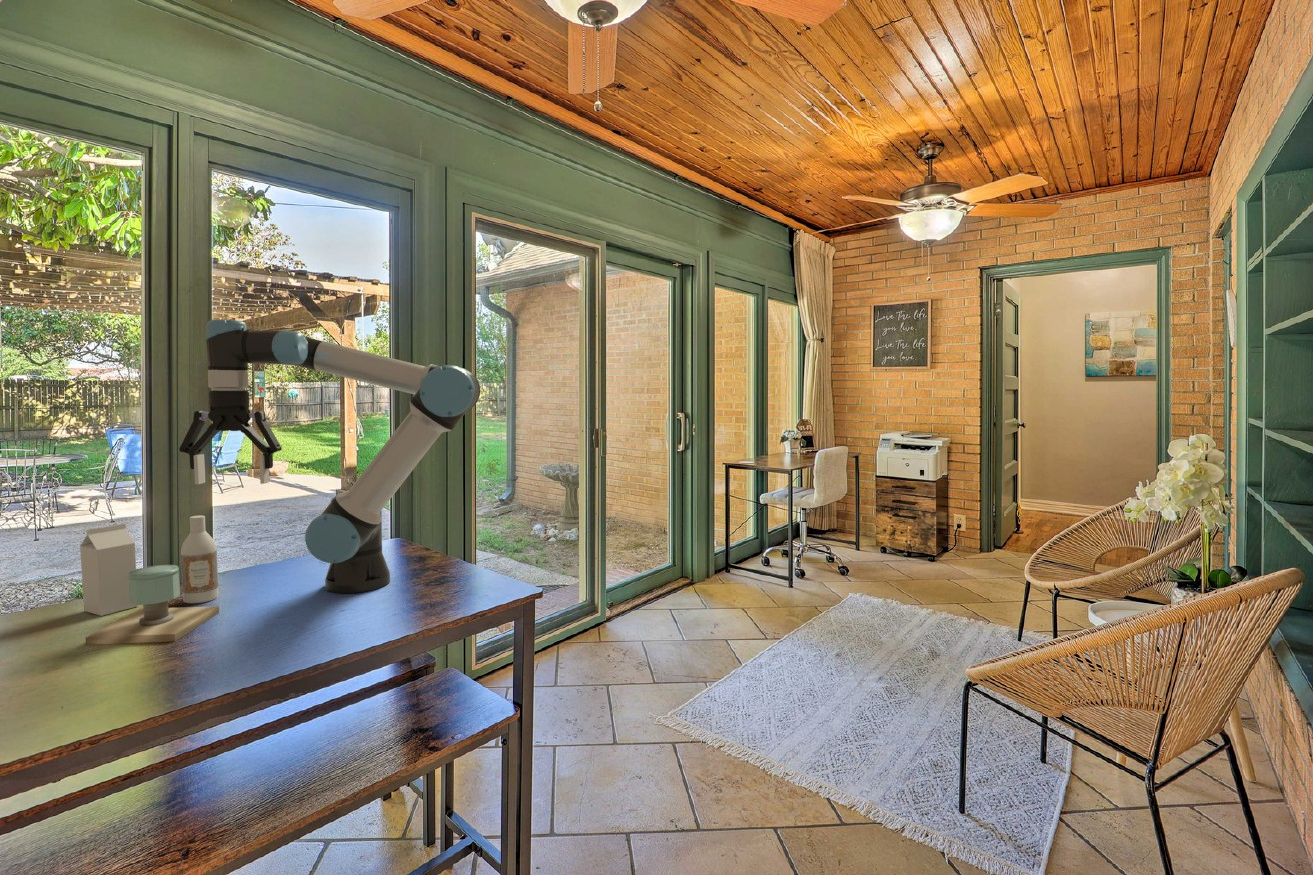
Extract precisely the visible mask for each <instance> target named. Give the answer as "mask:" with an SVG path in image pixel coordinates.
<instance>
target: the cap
mask: <svg viewBox="0 0 1313 875" xmlns="http://www.w3.org/2000/svg"><path fill="white" fill-rule="evenodd" d="M179 568H180V567H179V565H176V564H157V565H150V566H144V567H141V568H136V570H133V571H131V572H129V574H128V575H129V593H130V603H133V604H136V605H138V606H143V605H146V604H157V603H161V602H165V601H172V600H174V599H176V598H177V597H179V596H180V595H181V589H180V587H181V586H180V569H179Z"/></svg>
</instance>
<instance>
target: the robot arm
mask: <svg viewBox="0 0 1313 875" xmlns="http://www.w3.org/2000/svg"><path fill="white" fill-rule="evenodd" d="M205 331H206V332H205V333H206V337H205V343H206V355H207V356H206V359H207V382H208V384H207V387H208V388H209V389H211V390H209V392H208V403H209V404H208V405H209V411H205V410H196V411H194V412H193V418H192V419H193V420H192V422H191V424H190V427H189V429H188V430H187V432H186V434H185V437H184V438H183V441H182V442H181V445H180V447H179V448H178V450H179V452H180V453H185V454H187V455H188V456H189V467H190V470H194V471H193V472H194V484H195V485H202V484H206V465H205V453H202V451H203V450H204V449H205V447H207V445H208V444H210V443H211V441H212V439H214V437H216V435H217V434H218V433H219V432H227V431H229V432H239V431H240V432H241V433H242V434H244V435H245V436H246V438H248V439H249V440H250V442H252V444H254V445H255V447H256V448H257V449H258V450H259V451H260V452H261V454H260V455H259V478H260V479H259V480H260V484H261V485H265V484H267V483H270V469H273V466H274V461H273V460H274V458H273V457H274V453H277V452H280V451H282V449H283V448H282V445H281V443H280V442H279V440H278V439H277V437H276V435H275V434H274V432H273V430H272V428H271V426H270V424H269V423H268V420H267V418H266V413H265V411H263V410H259V411H254V412H251V410H250V391H248V390H246V389H248V388H249V364H260V365H261V364H266V365H283V366H294V367H295V366H296V367H300V368H303V369H307V370H311V371H316V372H322V373H325V374H330V375H334V376H338V377H343V378H345V379H350V380H354V381H359V382H362V383H366V384H370V385H375V386H378V387H384V388H387V389H389V390H394V391H398V392H403V393H407V394H411V395H413V397H412V398H411V399H410V400H409V407H410V412H408V414H407V415H406V417H405V418H404V419H403V420H402V421H401V423H400V424H399V426H397V428H396V429H395V430H394V432H393V433H391V434H392V435H391V436H390V437H389V438H388V440H386V442H385V443H384V444H383V446H382V447H381V449H380V450H379V451H378V452H377V454H376V455H375V456H374V457H373V458H372V460H371V461H370V463H369V464H368V466H366V467H365V469H364V470H363V472H361V474H360V476H359V477H358V478H357V480H356V481H355V482H354V483H353V485H352V486H351V487H350V488H349V489H348V491H345V492H341V493H337V494H336V495H335V497H332V498H331V500H330V502H329V504H328V506H326V508H325V509H324V510H323V512H322V513H321V514H320V515H318V516H316V517H314V519H313V520H311V522H310V523H309V524H308V526H307V528H306V529H305V533H304V541H305V545H306V548H307V550H308V551H309V553H310V554H311V555H312V556H313V557H314V558H316V560H319V561H321V562H323V563H327V564H329V567H328V569H327V572H326V576H325V579H324V583H325V585H324V586H325V590H326V591H328V592H331V593H336V594H354V593H355V594H357V593H362V592H363V593H364V592H370V591H373V590H377V589H380V588H383V587H386V586H387V585H388V584H389V583H390V582H391V572H390V569H389V566H388V563H387V562H386V558H385V556H384V554H383V529H382V527H383V526H382V523H383V522H382V511H383V509H384V508H385V506H386V505H387V504H388V503H389V502H390V500H391V499H392V498H393V496H394V495H395V494H396V492H397V491H398V490H399V489H400V487H401V486H402V485H403V483H404V482H405V481H406V479H407V478H408V477H409V476H410V475H411V473H412V472H413V471H414V469H415V468H416V466H418V464H419V463H420V461H421V460H422V459H423V458H424V456H425V455H426V454H427V452H428V451H429V450H430V448H431V447H432V446H433V445H434V443H435V442H436V441H437V439H438V438H439V437H440V436H441V434H443V433H446V432H452V431H453V430H454V429H455V427H456V426H457V424H458V423H460V420H461V419H462V418H463V417H464V416H465V414H466V413H468V411H470V410H471V409H473V408H474V407H475V406H476V404H477V403H478V401H479V398H480V396H481V386H480V385H481V384H480V382H479V381H478V378H477V376H475V375H474V374H473V372H471V371H470V370H468V369H466V368H463V367H460V366H457V365H453V364H444V365H437V364H428V366H424V365H420V364H417V363H413V362H409V361H404V360H402V359H401V360H400V359H395V358H392V357H387V356H385V355H381V354H380V355H379V354H377V353H371V352H369V351H364V350H360V349H356V348H351V347H348V346H345V345H340V344H335V343H332V342H328V341H323V340H320V339H316V338H312V337H310V336H306V335H304V334H303V333H302V332H300V331H297V330H296V331H294V330H293V331H292V330H284V329H283V330H256V329H255V330H254V329H248V328H247V324H246V323H245V321H241V320H235V319H210V320H209V321H207V322H206V330H205ZM208 419H209V420H210V421H211V423H210V425H209V426H208V427H207V429H206V430H205V431H204V433H203V434H202V435H201V436H200V437H199V435H200V433H201V431H202V429H203V427H204V425H205V422H206V421H208ZM251 419H252V420H253V422H255V424H256V426H257V428H258V430H259V431H260V433H261V434H262V436H263V438H262V436H261V435H260V434H259V433H258V432H257V431H256V430H255V429H254V427H253V426H252V425H251V424H250V423H249V422H250V420H251ZM198 437H199V439H198Z"/></svg>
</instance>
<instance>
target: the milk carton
mask: <svg viewBox="0 0 1313 875" xmlns="http://www.w3.org/2000/svg"><path fill="white" fill-rule="evenodd" d="M126 525H127V524H126V523H122V524H116V525H109V526H103V527H96V528H90V529H86V535H85V537H84V539H83V540H82V542H81V544H80V545H79V550H80V552H79V553H80V564H81V567H80V568H81V581H82V582H81V584H82V596H83V598H82V599H83V610H84V612H86V613H90V614H93V615H96V616H100V617H101V616H102V617H103V616H106V615H110V614H114V613H118V612H120V611H121V612H122V611H125V610H126V611H127V610H129V609H132V608H137V607H138V606H139V605H136V604H133V603H130V593H129V575H128V574H129V572H131V571H133V570H136V569H137V560H136V541H134V539H133V537H132V535H131V534H130V532H129V531H128V529H127V526H126Z"/></svg>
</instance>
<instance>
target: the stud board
mask: <svg viewBox="0 0 1313 875" xmlns="http://www.w3.org/2000/svg"><path fill="white" fill-rule="evenodd" d="M142 606H143V608H139V609H137V610H135V611H134V612H131V613H130V614H127V615H126V616H124V617H122V618H120V619H118V620H116V621H114V622H113V623H110V624H109V625H106V626H105V627H104V626H103V628H101V629H99V630H97V631H95V632H92V633H91V634H89V635H86V636H85V637H84V639H85V645H86V646H89V645H90V646H91V645H92V646H93V645H95V646H96V645H115V644H136V643H137V644H138V643H139V644H140V643H144V644H145V643H163V642H165V643H167V642H177V641H178V640H179V639H181V638H182V637H184V636H186V635H188V634H189V633H190V632H192V631H194V630H195V629H197V628H198V627H199V626H201V625H203V624H205V623H206V622H207V621H209V620H210V619H212V618H213V617H215V616H216V615H218V614H220V606H219V605H218V606H217V605H216V606H215V605H214V606H213V605H212V606H211V605H210V606H186V607H183V606H182V607H169V602H168V601H165V602H161V603H157V604H146V605H142Z"/></svg>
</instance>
